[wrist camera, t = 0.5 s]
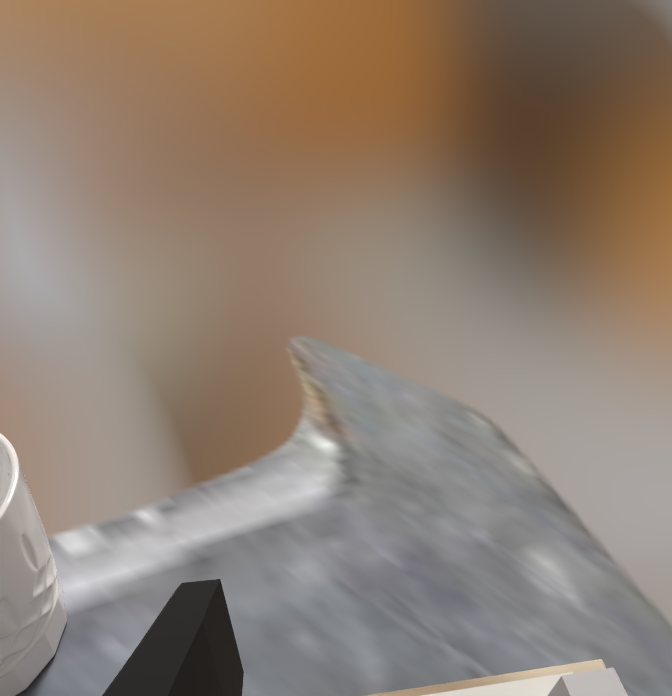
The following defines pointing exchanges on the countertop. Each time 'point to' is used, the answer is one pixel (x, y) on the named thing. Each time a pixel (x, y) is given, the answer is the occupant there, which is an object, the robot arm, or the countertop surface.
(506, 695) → the white strip
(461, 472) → the countertop surface
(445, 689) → the base
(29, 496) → the white cup
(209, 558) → the countertop surface
